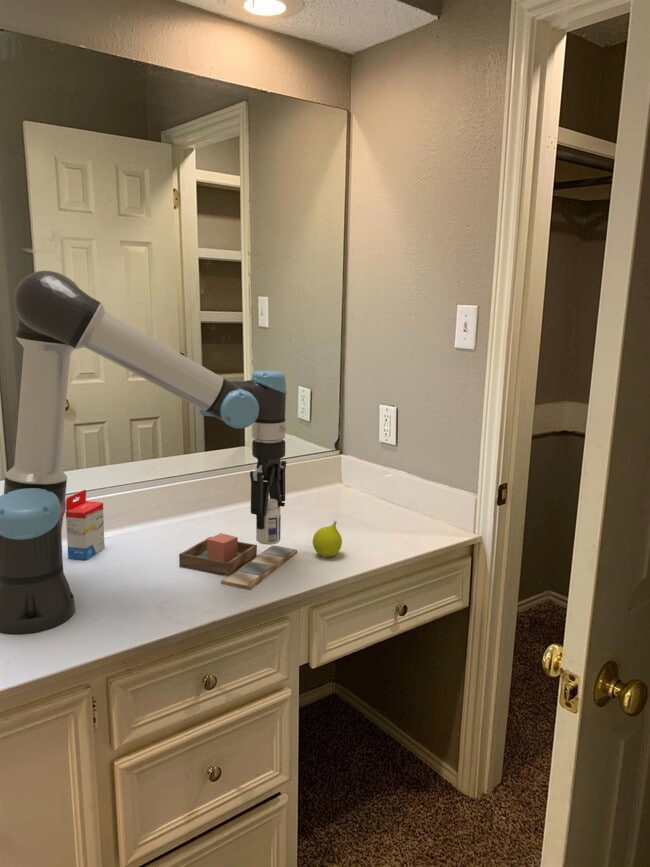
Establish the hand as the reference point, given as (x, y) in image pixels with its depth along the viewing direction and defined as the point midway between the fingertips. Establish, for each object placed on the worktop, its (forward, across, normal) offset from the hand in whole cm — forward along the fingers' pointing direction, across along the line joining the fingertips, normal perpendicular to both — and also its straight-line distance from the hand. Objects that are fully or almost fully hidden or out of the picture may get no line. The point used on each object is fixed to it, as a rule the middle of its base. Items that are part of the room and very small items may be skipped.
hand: (268, 537), depth 152 cm
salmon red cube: (+3, -6, +11) cm, 13 cm away
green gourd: (+7, +10, -11) cm, 16 cm away
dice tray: (+6, -5, +11) cm, 13 cm away
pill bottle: (+1, 0, 0) cm, 1 cm away
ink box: (+6, -14, +42) cm, 44 cm away
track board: (+6, -3, 0) cm, 7 cm away
